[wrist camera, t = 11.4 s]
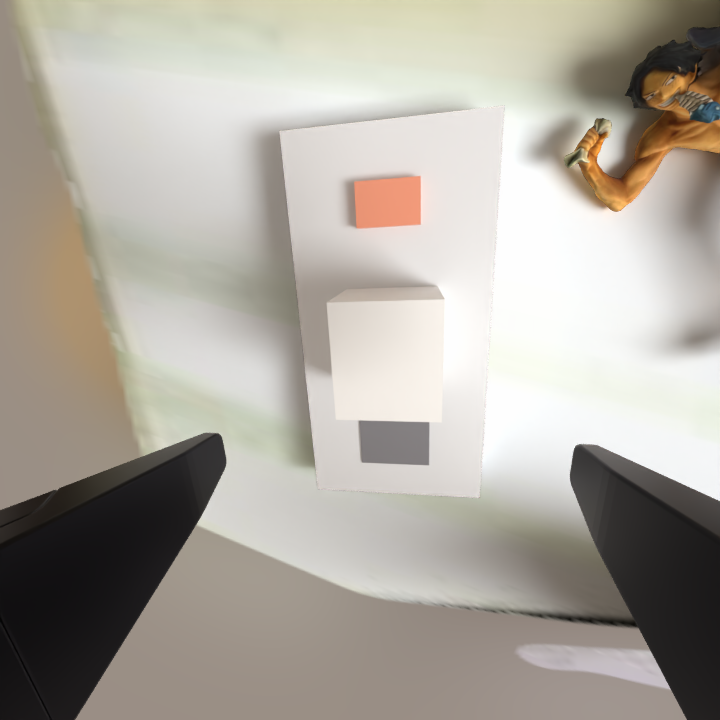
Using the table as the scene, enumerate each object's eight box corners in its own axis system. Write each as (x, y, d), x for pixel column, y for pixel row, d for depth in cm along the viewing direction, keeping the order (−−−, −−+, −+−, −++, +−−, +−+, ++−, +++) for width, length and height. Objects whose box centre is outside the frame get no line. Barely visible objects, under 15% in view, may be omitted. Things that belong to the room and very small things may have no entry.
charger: (433, 370, 21) (441, 422, 15) (357, 370, 22) (335, 419, 15) (435, 281, 19) (444, 299, 13) (353, 284, 20) (326, 302, 14)
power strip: (474, 477, 23) (481, 505, 20) (325, 470, 24) (315, 495, 22) (494, 121, 17) (508, 100, 14) (293, 142, 18) (274, 126, 16)
